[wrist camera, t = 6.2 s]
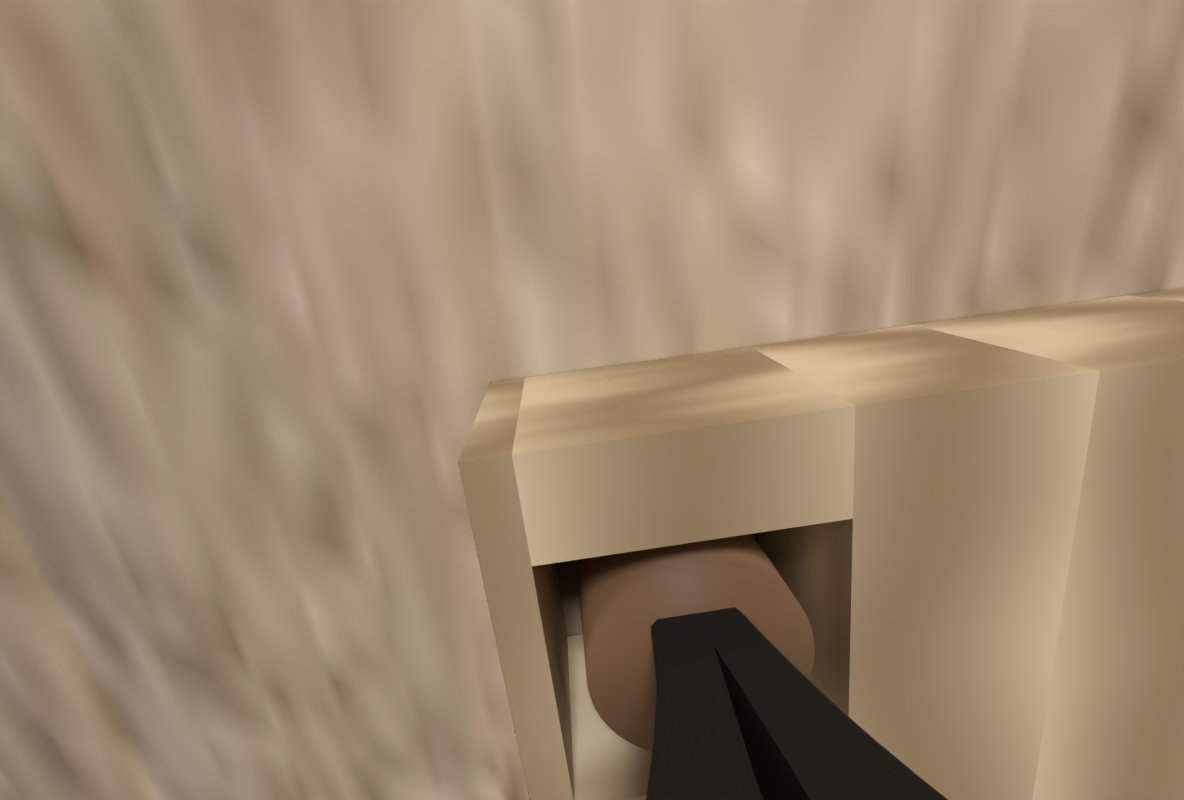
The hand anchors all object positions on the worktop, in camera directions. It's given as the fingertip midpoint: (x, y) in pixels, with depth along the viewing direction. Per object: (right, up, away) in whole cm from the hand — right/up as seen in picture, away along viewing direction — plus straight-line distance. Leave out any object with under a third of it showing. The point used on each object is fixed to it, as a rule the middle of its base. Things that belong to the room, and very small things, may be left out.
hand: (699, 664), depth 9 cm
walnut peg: (0, +1, +3) cm, 3 cm away
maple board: (+5, -3, +5) cm, 8 cm away
